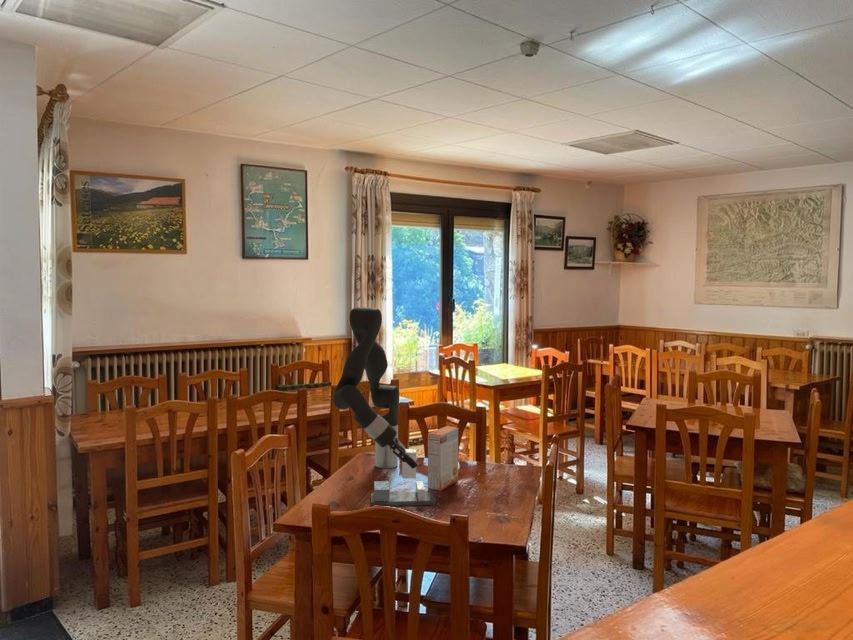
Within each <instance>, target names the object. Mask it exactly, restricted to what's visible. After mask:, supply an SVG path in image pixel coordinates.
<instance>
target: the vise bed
mask: <svg viewBox="0 0 853 640" xmlns="http://www.w3.org/2000/svg"><path fill="white" fill-rule="evenodd" d="M370 501H371V502H370V503H372V505H371V507H375V506H374V505H388V506H387V507H396V506H397V507H401V506H403V505H404V506H405V507H406V506H408V505H410V506H435V505H437V498H436V496H435V493H434V491H426V487H425V485H424V481H423V480H416V481H415V491H412V492H411V491H408V492H407V491H406V492H404V491H402V492H389V501H375V500H374V492H371V493H370ZM404 506H403V507H404Z"/></svg>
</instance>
